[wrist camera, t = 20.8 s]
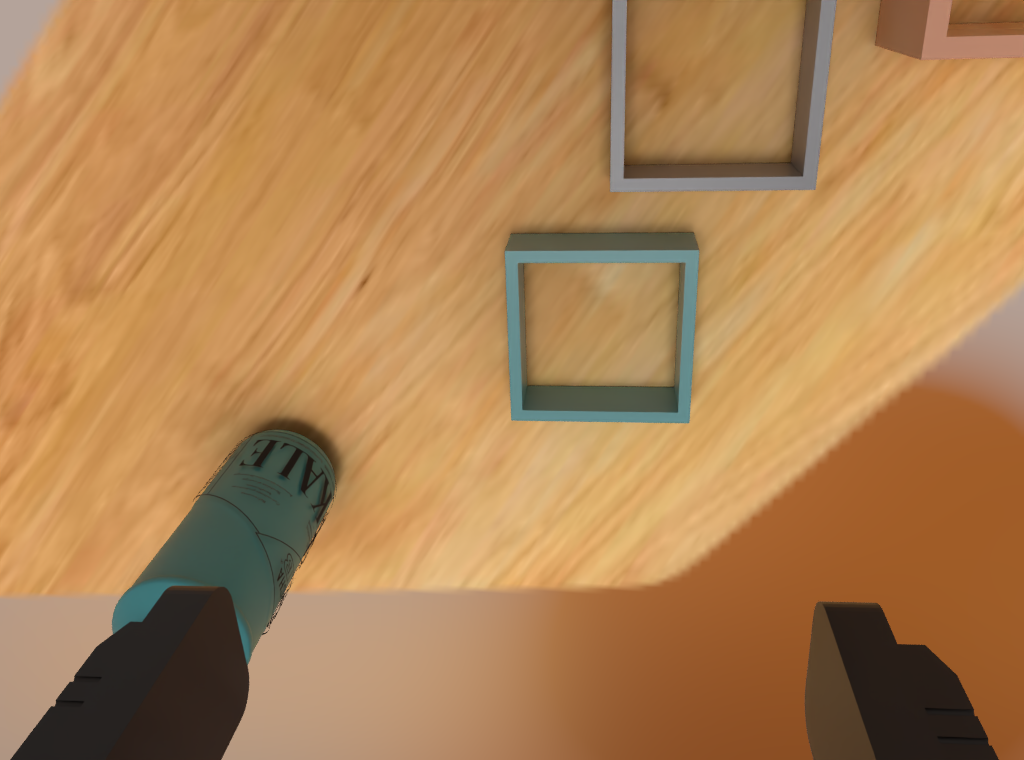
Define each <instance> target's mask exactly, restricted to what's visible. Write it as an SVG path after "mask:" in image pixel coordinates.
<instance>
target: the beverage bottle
mask: <svg viewBox="0 0 1024 760" xmlns="http://www.w3.org/2000/svg"><path fill="white" fill-rule="evenodd" d="M250 436H251V435H250ZM248 437H249V436H248ZM246 438H247V437H246ZM244 439H245V438H244ZM241 441H242V440H241ZM238 445H239V444H238ZM234 448H235V447H234ZM235 449H236V448H235ZM234 451H235V452H234ZM234 451H233V454H232V455H230V457H229V459H228V461H227V462H226V461H225V462H226V463H225V465H224V466H222V467H221V468H222V469H221V470H220V468H219V472H218V474H217V475H216V473H215V476H214V477H215V478H214V479H213V478H212V479H213V480H212V479H211V480H212V481H211V482H210V484H209V483H208V484H209V485H208V487H207V488H206V489H205V491H204V492H203V493H202V494H201V496H200V495H199V496H200V497H199V498H198V500H197V501H196V503H195V504H194V506H193V507H192V509H191V511H190V512H189V513H188V515H187V516H186V517H185V518H184V520H183V521H182V522H181V524H180V525H179V526H178V527H177V529H176V530H175V531H174V533H173V534H172V535H171V536H170V538H169V539H168V540H167V542H166V543H165V544H164V545H163V547H162V548H161V549H160V551H159V552H158V553H157V554H156V556H155V557H154V558H153V560H152V561H151V562H150V563H149V565H148V566H147V567H146V569H145V570H144V571H143V573H142V574H141V575H140V576H139V578H138V579H137V580H136V582H135V583H134V584H133V585H132V587H131V588H129V589H128V590H127V591H126V592H125V593H124V594H123V596H122V597H121V598H120V600H119V601H118V603H117V605H116V607H115V610H114V613H113V619H112V630H113V634H114V633H116V632H117V631H118V630H120V629H121V628H122V627H124V626H125V625H126V624H128V623H129V622H130V621H131V622H142V621H143V620H144V619H145V617H146V616H147V614H148V613H149V612H150V610H151V609H152V607H153V606H154V605H155V603H156V602H157V601H158V599H159V598H160V596H161V595H162V594H163V592H164V591H165V590H166V589H167V588H169V587H171V586H217V587H225V588H227V589H228V591H229V592H230V594H231V596H232V600H233V604H234V608H235V613H236V617H237V622H238V626H239V631H240V635H241V640H242V644H243V649H244V653H245V658H246V662H247V665H248V663H249V661H250V658H251V655H252V652H253V650H254V648H255V647H256V645H257V643H258V641H259V639H260V637H261V635H263V634H266V633H267V632H266V633H263V632H264V631H265V629H266V627H268V625H269V621H270V624H271V620H270V619H272V618H271V617H272V616H273V615H274V614H273V613H274V611H275V609H276V607H277V606H278V604H279V602H280V601H281V599H282V600H284V599H283V597H284V595H285V593H284V592H285V590H286V588H287V586H288V584H289V582H291V579H292V577H294V573H295V571H297V570H296V569H297V567H299V566H300V565H299V563H300V561H301V559H302V557H303V556H304V555H305V553H307V554H308V552H306V551H307V550H308V549H309V547H310V545H311V543H312V545H313V542H314V539H315V537H316V535H317V534H318V532H319V530H320V529H319V530H318V532H317V534H316V530H317V528H318V526H319V525H320V523H321V521H322V522H323V523H324V521H325V519H324V517H325V516H326V515H328V514H326V515H325V513H327V512H326V511H327V509H328V507H329V505H330V503H331V501H332V499H333V501H334V497H333V496H334V491H335V482H336V480H335V474H334V470H333V467H332V465H331V462H330V460H329V459H328V457H327V456H326V454H325V453H324V452H323V450H322V449H321V448H320V447H319V446H318V445H316V444H315V443H314V442H313V441H311V440H310V439H308V438H306V437H304V436H302V435H300V434H298V433H295V432H291V431H286V430H268V431H263V432H260V433H258V434H257V433H256V434H255V435H254V434H253V436H251V437H249V438H248V439H246V440H245V441H244V442H243V441H242V443H240V445H239V446H238V448H237V449H236V450H234ZM231 453H232V452H231ZM231 453H229V454H231ZM228 456H229V455H228ZM226 458H228V457H226ZM226 458H225V460H227V459H226ZM223 462H224V461H223ZM219 467H220V466H219ZM216 471H217V470H216ZM213 475H214V474H213ZM209 480H210V479H209ZM206 484H207V483H206ZM204 488H205V487H203V488H202V489H204ZM199 493H200V492H199ZM196 497H198V496H196ZM196 497H195V498H196ZM335 497H336V496H335ZM195 498H194V499H195ZM193 501H194V500H193ZM331 508H332V507H331ZM329 511H330V510H329ZM324 515H325V516H324ZM325 518H326V517H325ZM322 519H323V520H322ZM322 525H323V524H322V523H321V525H320V526H322ZM320 528H321V527H320ZM314 534H315V535H314ZM313 536H314V537H313ZM312 538H313V540H312ZM311 540H312V541H311ZM310 542H311V543H310ZM308 551H309V550H308ZM306 556H307V555H306ZM306 556H305V558H306ZM303 561H304V560H303ZM303 561H301V565H302V564H303ZM298 565H299V566H298ZM300 567H301V566H300ZM300 567H299V568H300ZM292 580H293V579H292ZM291 583H292V582H291ZM290 585H292V584H290ZM288 587H289V586H288ZM290 587H291V586H290ZM287 592H288V589H287V591H286V593H287ZM283 594H284V595H283ZM285 597H286V596H285ZM281 602H282V601H281ZM280 604H281V603H280ZM281 605H282V604H281ZM276 615H277V613H276ZM276 615H275V617H276ZM273 618H274V617H273ZM272 620H273V619H272Z"/></svg>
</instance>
